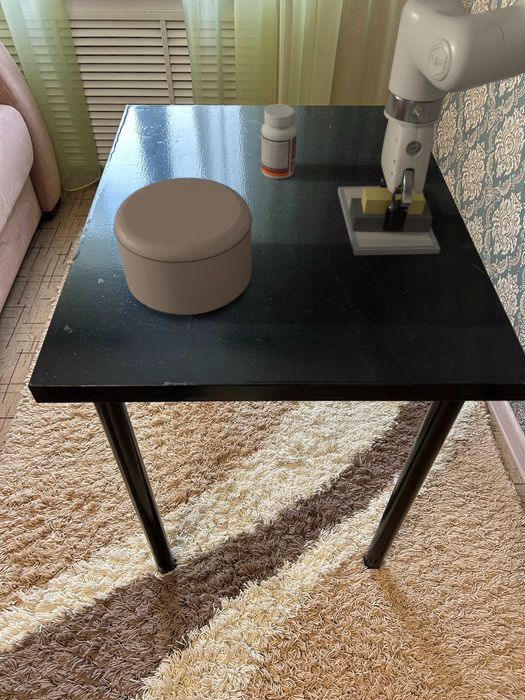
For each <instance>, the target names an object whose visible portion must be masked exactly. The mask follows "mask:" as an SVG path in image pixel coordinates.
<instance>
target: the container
mask: <svg viewBox="0 0 525 700" xmlns="http://www.w3.org/2000/svg"><path fill="white" fill-rule="evenodd" d="M252 217H253V216H252V213H251V209H250V207H249V205H248V203H247V201H246V200H245V198H244V197H243V196H242V195H241V194H240V193H239V192H238V191H237V190H235V189H234V188H232V187H231V186H228V185H226V184H224V183H221V182H219V181H215V180H211V179H207V178H200V177H174V178H167V179H163V180H158V181H155V182H151V183H149V184H147V185H144V186H142V187H140V188H138V189H136V190H135V191H134V192H132V193H130V194H129V195H128V196H127V197H126V198H124V200H123V201H122V202H121V203H120V205H119V206H118V208H117V210H116V212H115V215H114V220H113V233H114V235H115V238H116V242H117V247H118V251H119V255H120V259H121V263H122V268H123V272H124V276H125V279H126V284H127V288H128V290H129V292H130V293H131V294H132V296H133V297H134V298H135V300H137V301H139V302H140V303H141V304H143V305H144V306H146V307H148V308H151V309H152V310H155V311H158V312H161V313H166V314H172V315H184V316H188V315H198V314H199V315H200V314H204V313H208V312H211V311H214V310H217V309H219V308H222V307H224V306H226V305H228V304H229V303H231V302H233V301H234V300H235V299H237V298H238V297H239V296H241V294H242V293H243V292H244V291H245V290H246V289H247V287H248V285H249V283H250V281H251V279H252V272H253V271H252V268H253V267H252V266H253V263H252V262H253V261H252V221H253V220H252V219H253V218H252Z"/></svg>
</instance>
